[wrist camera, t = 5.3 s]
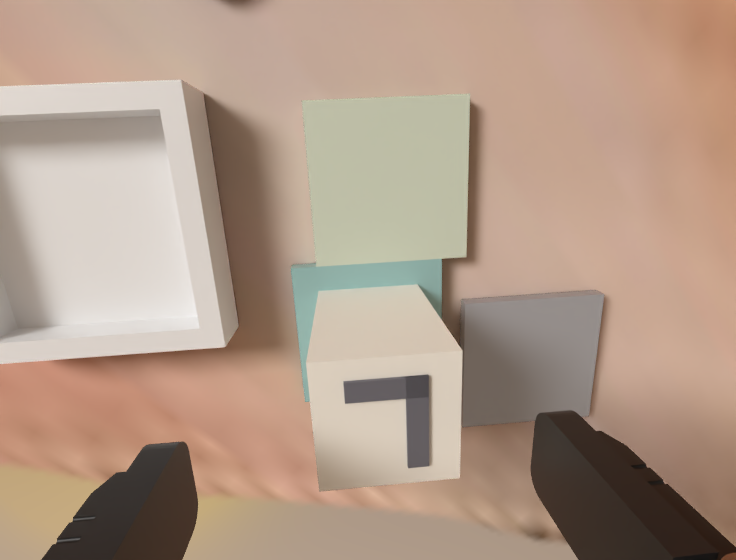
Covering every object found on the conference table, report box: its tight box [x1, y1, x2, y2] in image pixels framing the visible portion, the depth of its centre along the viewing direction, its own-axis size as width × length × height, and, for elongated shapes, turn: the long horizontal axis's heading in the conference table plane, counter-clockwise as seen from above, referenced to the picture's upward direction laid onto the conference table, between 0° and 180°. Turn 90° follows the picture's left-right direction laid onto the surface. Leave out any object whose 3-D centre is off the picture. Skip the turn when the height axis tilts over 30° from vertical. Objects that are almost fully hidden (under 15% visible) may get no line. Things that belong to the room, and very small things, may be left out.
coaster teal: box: [291, 259, 442, 402], centre depth 16 cm, size 6×6×1 cm
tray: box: [0, 80, 239, 364], centre depth 14 cm, size 9×9×2 cm
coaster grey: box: [460, 290, 604, 427], centre depth 17 cm, size 6×6×1 cm
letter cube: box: [306, 284, 463, 492], centre depth 13 cm, size 4×4×6 cm
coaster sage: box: [302, 94, 470, 267], centre depth 15 cm, size 6×6×1 cm
